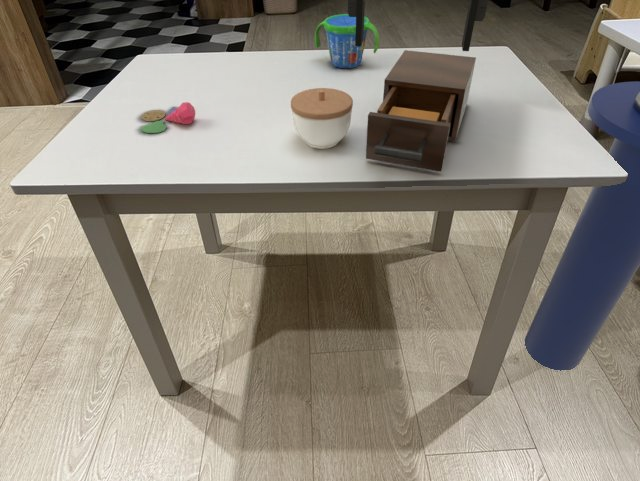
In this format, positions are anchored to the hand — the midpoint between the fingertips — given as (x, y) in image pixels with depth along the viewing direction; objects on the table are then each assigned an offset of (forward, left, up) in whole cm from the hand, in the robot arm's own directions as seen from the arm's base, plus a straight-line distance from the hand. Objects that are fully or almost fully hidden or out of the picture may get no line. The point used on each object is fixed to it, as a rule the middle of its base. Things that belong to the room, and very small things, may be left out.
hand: (411, 45), depth 59 cm
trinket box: (+16, -8, -21) cm, 28 cm away
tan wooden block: (0, -9, -19) cm, 21 cm away
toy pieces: (+48, -6, -21) cm, 53 cm away
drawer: (0, -8, -20) cm, 21 cm away
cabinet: (0, -23, -21) cm, 31 cm away
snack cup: (+24, -46, -21) cm, 56 cm away
